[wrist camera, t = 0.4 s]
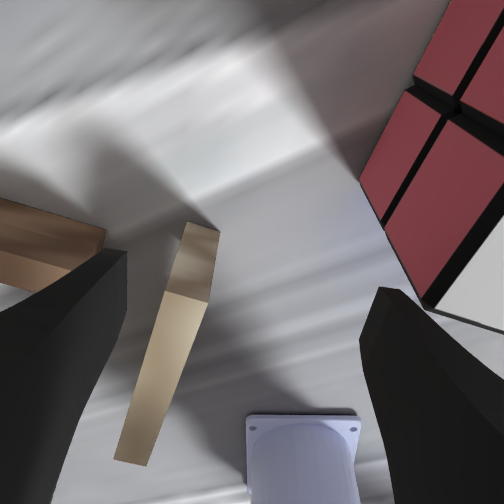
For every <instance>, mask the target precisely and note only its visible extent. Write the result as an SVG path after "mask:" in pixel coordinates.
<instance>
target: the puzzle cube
mask: <svg viewBox="0 0 504 504" xmlns="http://www.w3.org/2000/svg"><path fill="white" fill-rule="evenodd" d="M413 79H414V82H415V85H414V86H412V87H410V88H408V89H406V90H404V92H403V94H402V96H401V98H400V100H399V102H398V104H397V106H396V108H395V110H394V112H393V114H392V116H391V118H390V119H389V121H388V123H387V125H386V127H385V129H384V131H383V133H382V135H381V137H380V139H379V141H378V143H377V145H376V147H375V148H374V150H373V152H372V154H371V156H370V158H369V160H368V162H367V164H366V166H365V168H364V170H363V172H362V174H361V176H360V178H359V179H358V180H359V183H360V185H361V188H362V190H363V192H364V194H365V196H366V198H367V200H368V201H369V203H370V205H371V207H372V209H373V211H374V213H375V215H376V217H377V219H378V221H379V223H380V225H381V227H382V229H383V230H384V231H385V234H386V236H387V239H388V241H389V243H390V245H391V247H392V249H393V250H394V252H395V254H396V256H397V258H398V260H399V262H400V264H401V266H402V268H403V270H404V272H405V274H406V276H407V278H408V280H409V282H410V283H411V285H412V287H413V289H414V291H415V293H416V295H417V297H418V299H419V301H420V303H421V305H422V307H423V309H424V310H426V311H429V312H433V313H436V314H439V315H442V316H445V317H449V318H452V319H455V320H458V321H461V322H465V323H468V324H471V325H474V326H478V327H481V328H484V329H487V330H490V331H494V332H497V333H500V334H503V335H504V0H451V1H450V3H449V5H448V7H447V9H446V11H445V13H444V15H443V17H442V19H441V21H440V23H439V25H438V27H437V29H436V30H435V32H434V34H433V36H432V38H431V40H430V42H429V44H428V46H427V48H426V50H425V52H424V54H423V56H422V58H421V59H420V61H419V63H418V65H417V67H416V69H415V71H414V73H413Z"/></svg>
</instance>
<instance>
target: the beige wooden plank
mask: <svg viewBox="0 0 504 504" xmlns="http://www.w3.org/2000/svg"><path fill="white" fill-rule="evenodd" d="M219 236H220V232H219V231H216V230H213V229H210V228H206V227H203V226H200V225H197V224H194V223H191V222H187V223H186V226H185V230H184V233H183V236H182V239H181V242H180V245H179V248H178V251H177V254H176V258H175V261H174V264H173V267H172V270H171V273H170V276H169V279H168V282H167V286H166V289H165V292H164V295H163V298H162V302H161V305H160V308H159V311H158V315H157V318H156V321H155V325H154V328H153V331H152V334H151V338H150V341H149V344H148V347H147V351H146V354H145V357H144V360H143V364H142V367H141V370H140V374H139V377H138V380H137V383H136V387H135V390H134V393H133V396H132V400H131V403H130V406H129V409H128V413H127V416H126V419H125V423H124V426H123V429H122V432H121V436H120V439H119V442H118V445H117V449H116V452H115V455H114V460H119V461H123V462H128V463H132V464H137V465H142V466H146V465H147V463H148V460H149V458H150V455H151V452H152V450H153V447H154V444H155V442H156V439H157V436H158V434H159V431H160V429H161V426H162V423H163V421H164V418H165V415H166V413H167V410H168V408H169V405H170V402H171V400H172V397H173V394H174V392H175V389H176V386H177V384H178V381H179V379H180V376H181V373H182V371H183V368H184V365H185V363H186V360H187V358H188V355H189V352H190V350H191V347H192V344H193V342H194V339H195V337H196V334H197V331H198V329H199V326H200V323H201V321H202V318H203V315H204V313H205V310H206V308H207V305H208V301H209V295H210V289H211V284H212V278H213V272H214V266H215V260H216V254H217V248H218V242H219Z"/></svg>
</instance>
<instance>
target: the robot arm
mask: <svg viewBox="0 0 504 504" xmlns="http://www.w3.org/2000/svg"><path fill="white" fill-rule="evenodd" d="M126 310H127V251H121V250H113V249H106V248H105V249H103V250H102V251H100V252H98V253H97V254H96V255H94V256H93V257H91V258H90V259H88V260H87V261H85V262H84V263H82V264H81V265H79V266H78V267H77V268H75V269H74V270H72V271H71V272H69V273H67V274H66V275H64V276H63V277H61V278H60V279H58V280H57V281H55V282H54V283H52V284H50V285H49V286H47V287H45V288H44V289H42V290H40V291H38V292H37V293H35V294H33V295H32V296H30V297H28V298H26V299H25V300H23V301H21V302H19V303H17V304H16V305H14V306H12V307H10V308H8V309H6V310H4V311H2V312H0V504H50V502H51V499H52V495H53V493H54V490H55V487H56V484H57V481H58V478H59V475H60V472H61V469H62V466H63V463H64V460H65V457H66V455H67V452H68V449H69V446H70V444H71V441H72V438H73V435H74V432H75V430H76V427H77V424H78V422H79V419H80V417H81V415H82V412H83V410H84V408H85V405H86V403H87V401H88V399H89V397H90V395H91V393H92V391H93V389H94V387H95V385H96V383H97V381H98V379H99V376H100V374H101V372H102V370H103V368H104V366H105V364H106V362H107V360H108V358H109V356H110V354H111V351H112V349H113V347H114V345H115V343H116V341H117V338H118V335H119V332H120V329H121V326H122V323H123V320H124V317H125V314H126ZM359 344H360V353H361V360H362V367H363V372H364V376H365V380H366V383H367V387H368V390H369V394H370V398H371V401H372V405H373V408H374V411H375V415H376V418H377V422H378V425H379V429H380V432H381V436H382V439H383V443H384V447H385V451H386V455H387V460H388V466H389V471H390V477H391V483H392V488H393V494H394V501H395V504H504V380H503V379H502V378H501V377H499V376H498V375H497V374H495V373H494V372H493V371H491V370H490V369H489V368H488V367H486V366H485V365H484V364H483V363H481V362H480V361H479V360H478V359H477V358H475V357H474V356H473V355H472V354H471V353H469V352H468V351H467V350H466V349H465V348H463V347H462V346H461V345H460V344H459V343H458V342H457V341H456V340H454V339H453V338H452V337H451V336H450V335H449V334H448V333H447V332H446V331H444V330H443V329H442V328H441V327H440V326H439V325H438V324H437V323H436V322H435V321H434V320H433V319H432V318H431V317H430V316H428V315H427V314H426V313H425V312H424V311H423V310H422V309H421V308H420V307H419V306H418V305H417V304H416V303H415V302H414V301H413V300H411V299H410V298H409V297H408V296H407V295H406V294H405V293H403V292H402V291H401V290H400V289H393V288H386V287H379V288H378V290H377V293H376V296H375V298H374V301H373V304H372V306H371V309H370V311H369V314H368V317H367V319H366V322H365V325H364V327H363V330H362V333H361V335H360V338H359ZM360 429H361V419H360V418H359V417H357V416H334V415H249V416H248V417H247V418H246V453H247V490H248V493H249V494H250V495H251V504H361V502H360V497H359V492H358V487H357V482H356V477H355V471H354V466H353V465H354V460H355V455H356V450H357V445H358V439H359V434H360Z"/></svg>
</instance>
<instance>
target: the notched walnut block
mask: <svg viewBox="0 0 504 504" xmlns="http://www.w3.org/2000/svg"><path fill="white" fill-rule="evenodd" d="M105 233H106V230H105V229H102V228H98V227H95V226H92V225H88V224H85V223H82V222H78V221H75V220H72V219H69V218H65V217H62V216H59V215H55V214H52V213H49V212H45V211H42V210H39V209H35V208H32V207H29V206H26V205H22V204H19V203H16V202H12V201H9V200H6V199H2V198H0V283H3V284H7V285H10V286H14V287H18V288H21V289H25V290H29V291H33V292H36V293H37V292H38V291H40V290H42V289H44V288H45V287H47V286H49V285H50V284H52V283H54V282H55V281H57V280H58V279H60V278H61V277H63V276H64V275H66V274H67V273H69V272H71V271H72V270H74V269H75V268H77V267H78V266H79V265H81V264H82V263H84V262H85V261H87V260H88V259H90V258H91V257H93V256H94V255H96V254H97V253H98V252H100V251H102V248H103V243H104V238H105Z"/></svg>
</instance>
